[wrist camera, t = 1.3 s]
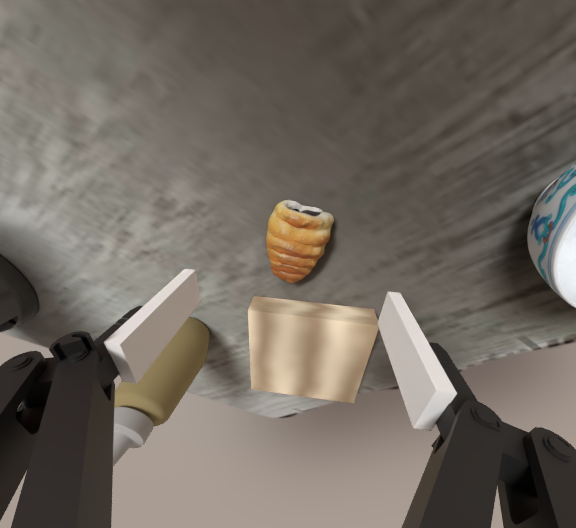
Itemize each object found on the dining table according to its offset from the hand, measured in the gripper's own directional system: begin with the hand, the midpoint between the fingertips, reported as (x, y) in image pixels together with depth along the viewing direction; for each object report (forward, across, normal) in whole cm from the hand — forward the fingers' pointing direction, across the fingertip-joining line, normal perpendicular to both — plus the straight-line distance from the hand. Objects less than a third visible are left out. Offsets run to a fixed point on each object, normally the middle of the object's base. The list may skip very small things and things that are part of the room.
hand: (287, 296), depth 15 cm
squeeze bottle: (+11, -16, -17) cm, 26 cm away
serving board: (+11, +2, -17) cm, 21 cm away
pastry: (+12, 0, 0) cm, 12 cm away
